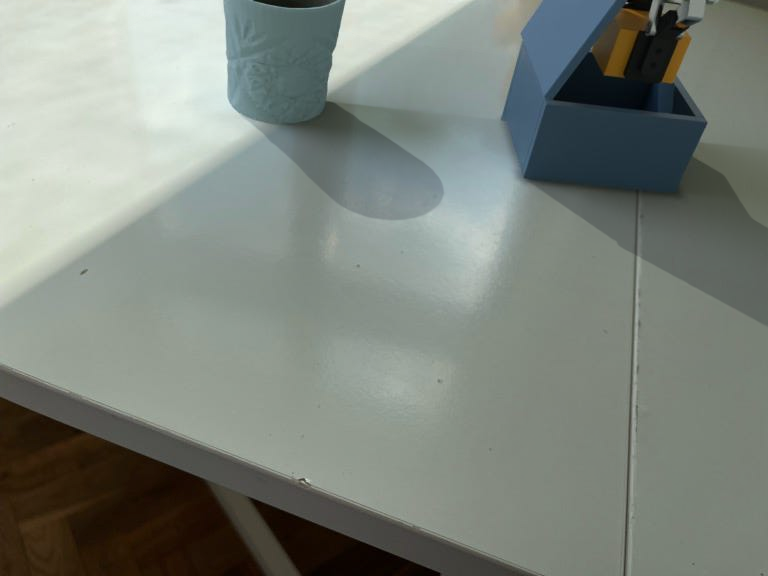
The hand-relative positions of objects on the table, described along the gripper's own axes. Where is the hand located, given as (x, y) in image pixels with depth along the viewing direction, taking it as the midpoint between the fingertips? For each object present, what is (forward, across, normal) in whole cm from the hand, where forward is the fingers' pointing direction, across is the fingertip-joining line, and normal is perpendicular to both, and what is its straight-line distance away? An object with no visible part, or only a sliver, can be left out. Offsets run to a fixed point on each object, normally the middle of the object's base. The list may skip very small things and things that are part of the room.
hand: (633, 63), depth 66 cm
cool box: (+10, 0, +1) cm, 10 cm away
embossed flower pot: (+10, +3, +29) cm, 31 cm away
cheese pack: (0, 0, 0) cm, 0 cm away
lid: (-5, 0, +5) cm, 8 cm away
